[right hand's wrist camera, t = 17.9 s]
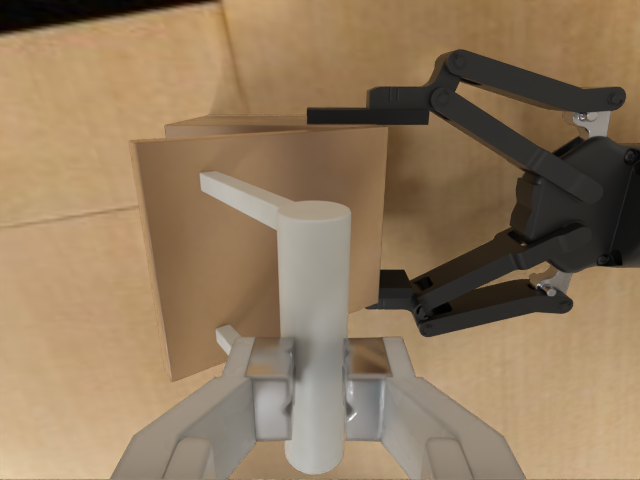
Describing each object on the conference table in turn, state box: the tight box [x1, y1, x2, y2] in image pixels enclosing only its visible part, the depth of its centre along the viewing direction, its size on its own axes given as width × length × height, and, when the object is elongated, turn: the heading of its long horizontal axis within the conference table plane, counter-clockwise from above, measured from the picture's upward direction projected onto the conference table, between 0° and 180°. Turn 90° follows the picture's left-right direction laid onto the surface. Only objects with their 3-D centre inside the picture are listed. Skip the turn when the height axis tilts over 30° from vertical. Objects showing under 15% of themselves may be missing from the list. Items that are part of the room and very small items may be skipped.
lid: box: [129, 126, 388, 474], centre depth 16 cm, size 12×10×9 cm
